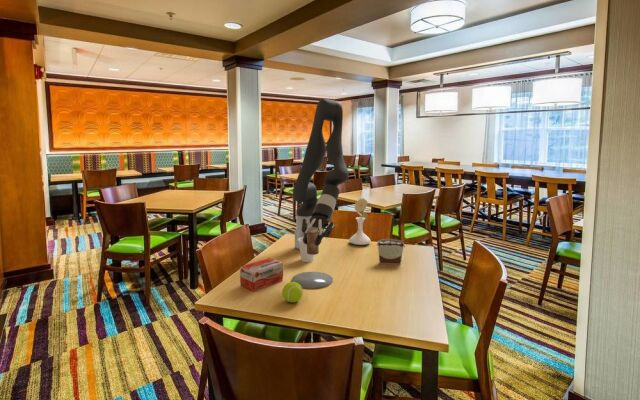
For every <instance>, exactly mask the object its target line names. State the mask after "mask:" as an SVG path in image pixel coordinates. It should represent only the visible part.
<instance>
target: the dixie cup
mask: <svg viewBox="0 0 640 400" xmlns="http://www.w3.org/2000/svg"><path fill="white" fill-rule="evenodd" d="M298 241H299V247H300V250H299V253H300V260H301V262H304V263H311V262H313V261H314V259H315V258H314V257H315V255H310V254H307V244H304V243H303V237H301V238H299V239H298Z"/></svg>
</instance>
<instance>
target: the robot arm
mask: <svg viewBox="0 0 640 400" xmlns="http://www.w3.org/2000/svg"><path fill="white" fill-rule="evenodd" d="M343 115H344V111H343V105H342V103H341V102H340V101H338V100H333V99H328V98H321V99H319V100H318V102H317V104H316V108H315V112H314V116H313V117H314V118H313V122H312V127H311V132H310V135H309V139H308V142H307V144H306V145H307V146H306V148H305V152H304V156H303V160H302V162H301V163H302V164H301V165H300V166H301V167H300V169H299V173H298V176H297V178H296V180H295V182H294V185H293V188H292V197H293V199H294V201H295V202H297V203H302V204H301V205H300V206H299V207H298V208H297V209H296V210H295V211H296V212H295V215H296V217H295V219H296V222H295V223H296V225H295V227H296V228H295V229H294V248H295V249H297V250H299V251H300V247H299V241H298V239H299V238H301V237H303V243H304V244H307V231H308V227H317V228H318V231H319V235H318V236H317V239H316V241H315V245H316V246H318V245H319V246H320V245H321V243H322V242H323V241H322V240H323V238H329V237H330V234H331V233H332V232H333V230H334V229H335V227H336V225H335V224H334V221H331V218H332V215H333V214H334V211H335V207H336V204H337V200H338V198H339V194H340V189H339V187H338V186H340V185H341V184H344V183H345V182H346V181H348V179H349V170H348V167H347V164H346V161H345V159H344V152H343V141H342V137H343V135H342V134H343V119H344V118H343V117H344V116H343ZM325 121H328V122H332V131H331V134H330V136H329V137H328V139H327V142H326V141H325V137H324V133H323V127H324V122H325ZM325 156H326V160H327V164H328V165H330V166H333V169H332V170H329V171H328V172H327V173H326V175H325V176H324V180H323V181H324V182H323V189H322V191H321V193H320V196H319V198H317V197H318V191H317V186H316V185H315V184H314V183H313V182H311V180H312V179H311V178H312V177H313V176H314V175H315V173H316V172H317V171H318V169H320V167H321V166H322V164H323V162H324V159H325ZM330 221H331V222H330ZM325 228H326V229H325Z"/></svg>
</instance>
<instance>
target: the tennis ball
mask: <svg viewBox="0 0 640 400" xmlns="http://www.w3.org/2000/svg"><path fill="white" fill-rule="evenodd" d="M303 291H304V290H303V288H302V287H301V285H300V284H298V283H297V282H292V281H289V282H286V284H285V285H284V286H283V288H282V293H281V294H282V297H283V299H284V300H285V301H286V302H288V303H296V302H299V301H300V300H301V299H302V297H303V294H304V292H303Z"/></svg>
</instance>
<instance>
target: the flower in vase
mask: <svg viewBox="0 0 640 400" xmlns="http://www.w3.org/2000/svg"><path fill="white" fill-rule="evenodd" d="M367 207H368V201H367V199H365V198H364V197H362V198H360V199H359V198H358V199H357V200H356V203H354V210H355V212H356V213H357V214H358V215H359V217H357V216H356V217H355V220H356V221H357V232H356V233H355V234H353V235H352V236H350V238H349V240H348V241H349V243H351V244H353V245H357V246H363V245H368V244H370V243H371V242H372V241H371V239H370V237H369V236H367V235H366V233H364V230H363V225H364V221H365V220H366V218H368V217H369V216H368V214H367V212H365V209H367ZM360 212H363V213H360Z"/></svg>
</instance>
